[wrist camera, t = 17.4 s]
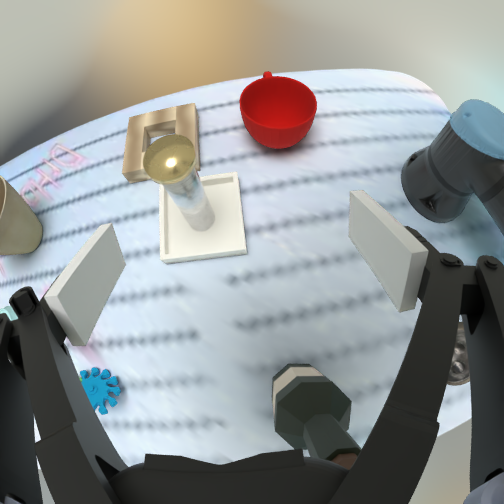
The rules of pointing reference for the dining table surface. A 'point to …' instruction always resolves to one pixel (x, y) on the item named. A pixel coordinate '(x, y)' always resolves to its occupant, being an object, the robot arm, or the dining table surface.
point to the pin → (180, 178)
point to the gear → (99, 388)
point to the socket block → (154, 125)
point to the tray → (212, 240)
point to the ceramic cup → (277, 110)
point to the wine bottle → (313, 414)
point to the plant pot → (17, 223)
